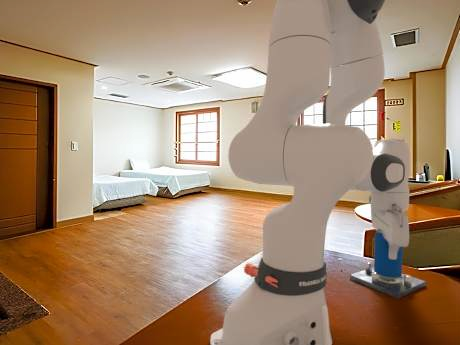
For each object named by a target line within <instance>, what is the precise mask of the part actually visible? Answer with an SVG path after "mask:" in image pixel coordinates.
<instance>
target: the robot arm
mask: <svg viewBox="0 0 460 345" xmlns="http://www.w3.org/2000/svg"><path fill="white" fill-rule="evenodd" d="M385 1H386V0H276V3H275V6H274V10H273V14H272V19H271V24H270V30H269V40H268V53H267V54H268V55H267V70H266V80H265V87H264V92H263V94H262V98H261V102H260V104H259V106H258V107H257V110H256V111H255V113H254V115H253V117H251V119H250V121H249V122H248V124H246V126H245V127H243V129H241V130H240V131H238V132H237V133H236V134H235V135H234V137H233V138H232V139H231V142H230V145H229V147H228V154H227V156H228V157H227V158H228V163H229V166H230V169H231V171H232V173H233V174H234V176H236V178H238V179H240V180H243V181H247V182H250V183H254V184H258V185H267V186H268V185H269V186H288V187H293V194H292V198H291V200H290V201H289V202H287V203H284V204H281V205H280V206H277V207H276V208H274V209H272V210H270V211H269V212H268V213H267V215H266V216H265V218H264V219H263V223H262V257H261V259H260V260H259V263H258V266H256V265H254V264H252V263H249V262H248V263H246V264H245V266H244V267H243V268H244V269H243V273H245V274H246V275H247V276H248V275H249V276H250V277H251V278H253V277H254V279H253V281H252V283H250V284H249V286H248V287H247V288H246V289H245V290H244V291H243V292H242V293H241V294H240V295H239V296H238V297H237V298H236V299H235V300H234V301H233V302H232V303H231V304H230V305H229V306H228V307H227V309H226V311H225V314H224V319H223V325H222V327H221V328H220V329H218V330H217V331H215V332H212V334H210V340H209V345H332V344H333V340H332V339H333V338H332V335H331V331H330V330H331V329H330V318H329V310H328V305H327V300H326V295H325V294H326V293H325V287H326V285H327V277H328V272H327V264H326V262H325V243H326V236H327V234H326V233H327V227H328V221H329V218H330V216H331V213H332V211H333V210H334V207H335V206H336V205H337V203H338V202H339V201H340V199H341V198H342V197H343V196H344V195H346V193H348V192H349V191H361V192H370V195H369V196H368V202H369V204H370V214H371V215H370V217H371V224H372V225H371V226H372V228H373V229H374V230H375V231H377V229H379V230H380V231H381V232H383V237H384V238H385V239H386V240H387V241H388V242H389V251H388V255H387V256H388V257H389V259H394V260H395V259H397V252H398V250H399V247H403V248H407V247H408V246H409V243H410V224H409V217H408V215H407V214H405V213H404V212H406V211H408V210H409V209H410V208H409V206H410V187H409V178H410V176H411V156H410V155H411V154H410V148H409V144H408V143H407V142H406V141H404V140H402V139H397V138H395V139H394V138H382V139H378V140H376V141H375V144H374V147H373V144H372V142H371V139H370V138H369V136H368V135H367V133H366V132H364V130H363V129H361V128H360V127H357V126H353V125H346V120H347V118H348V115H349V113H351V111H353V110H354V109H355V108H357V107H359V106H360V105H361V104H363V103H365V102H367V101H368V100H370V99H371V98H372V97H373V96H374V95H375V94H376V93H377V92H378V91H379V89H380V88H381V87H382V84H383V82H384V80H385V62H384V52H383V45H382V40H381V36H380V32H379V28H378V25H377V23H376V19H377V16H378V12H380V11H381V9H382V7H383V5H384V4H385ZM327 91H328V92H327ZM323 97H324V99H323ZM321 99H323V103H322V123H316V124H315V123H314V124H297V122H298V119H300V116H301V115H302V113H303V112H304V111H305V110H307V109H309V108H310V107H312V106H313V105H315V104H317V103H318V102H320V101H321Z"/></svg>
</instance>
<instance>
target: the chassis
mask: <svg viewBox="0 0 460 345" xmlns="http://www.w3.org/2000/svg"><path fill="white" fill-rule="evenodd" d="M349 280H352V281H354V282H357V283H359V284H361V285H363V286H366V287H368V288H371V289H373V290H376V291H379V292H381V293H384V294H386V295H388V296H391V297H393V298H396V299H400V298H402V297H405V296H407V295H409V294H411V293H413V292H415V291H418V290H420V289H422V288H424V287H426V284H427V281H425V280H422V279H419V278H418V277H413V276H411V275H409V274H404V273H402V275H401V277H398V278H397V279H385V278H382V277H380V276H379V273H377V272H374V266H373V262H370V261H365V269H363V270H360V271H357V272H354V273H352V274H349Z"/></svg>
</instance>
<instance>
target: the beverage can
mask: <svg viewBox="0 0 460 345" xmlns="http://www.w3.org/2000/svg"><path fill="white" fill-rule="evenodd" d="M403 248H404V247H399V250H398V252H397V259H395V260H394V259H389V257H388V256H387V255H388V251H389V242H388V241H387V240H386V239H385V238H384V237H383V232H381V231H380V230H379V229H377V230H376V232H375V234H374V258H373V259H374V262H373V267H374V272H377V273H379V276H380V277H382V278H385V279H397V278H398V277H401V275H402V274H403V273H402V272H403Z"/></svg>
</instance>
